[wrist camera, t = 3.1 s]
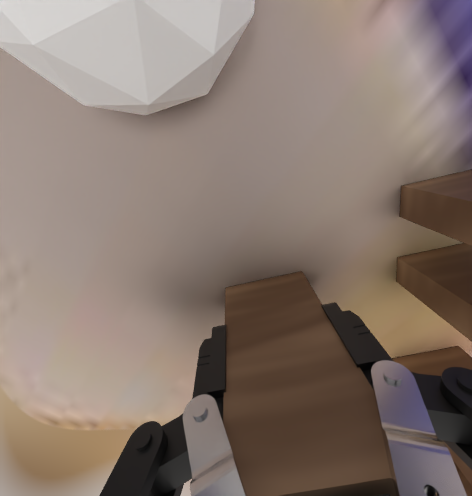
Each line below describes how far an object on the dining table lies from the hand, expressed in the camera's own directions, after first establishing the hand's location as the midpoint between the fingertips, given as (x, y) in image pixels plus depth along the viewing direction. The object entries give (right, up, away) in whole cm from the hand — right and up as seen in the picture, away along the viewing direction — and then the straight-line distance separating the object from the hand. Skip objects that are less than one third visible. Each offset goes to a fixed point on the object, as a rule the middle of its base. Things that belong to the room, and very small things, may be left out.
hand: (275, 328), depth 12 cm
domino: (0, +1, +3) cm, 3 cm away
